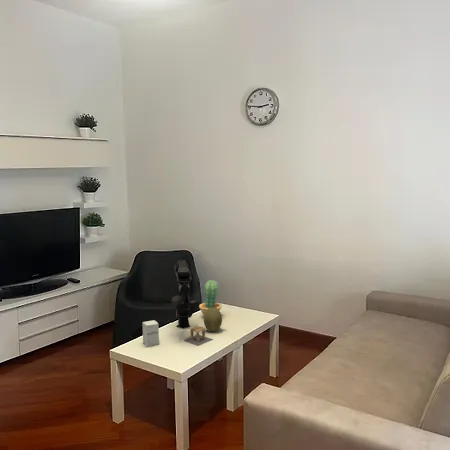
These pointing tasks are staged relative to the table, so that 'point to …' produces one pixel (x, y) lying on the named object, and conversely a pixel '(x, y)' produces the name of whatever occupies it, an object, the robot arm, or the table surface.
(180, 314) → the robot arm
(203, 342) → the mat
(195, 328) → the stool
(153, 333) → the supplement box
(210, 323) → the fruit
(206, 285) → the potted cactus
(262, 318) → the table surface
